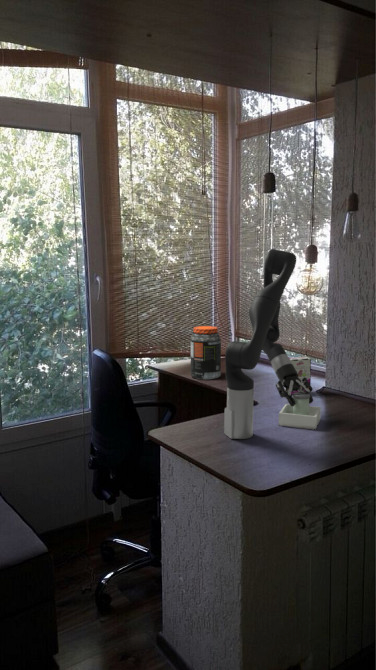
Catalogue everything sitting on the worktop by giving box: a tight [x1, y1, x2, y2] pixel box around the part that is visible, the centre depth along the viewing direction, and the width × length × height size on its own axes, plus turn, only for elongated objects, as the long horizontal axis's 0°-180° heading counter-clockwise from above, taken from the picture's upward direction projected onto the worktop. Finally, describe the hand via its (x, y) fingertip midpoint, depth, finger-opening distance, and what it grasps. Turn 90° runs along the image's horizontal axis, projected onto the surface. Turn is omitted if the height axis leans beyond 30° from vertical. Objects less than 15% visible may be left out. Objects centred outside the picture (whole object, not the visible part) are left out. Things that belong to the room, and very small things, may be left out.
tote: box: [278, 403, 322, 431], centre depth 208 cm, size 14×14×5 cm
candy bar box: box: [284, 356, 312, 396], centre depth 251 cm, size 11×5×16 cm, turn 105°
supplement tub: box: [189, 325, 222, 380], centre depth 283 cm, size 16×16×26 cm
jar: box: [292, 392, 311, 416], centre depth 208 cm, size 6×6×10 cm
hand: (302, 403), depth 206 cm, fingers open, 8 cm apart
